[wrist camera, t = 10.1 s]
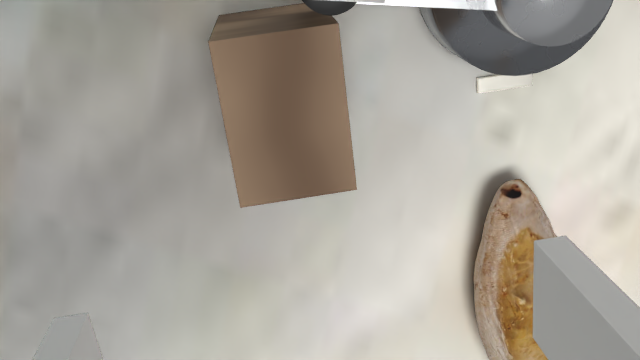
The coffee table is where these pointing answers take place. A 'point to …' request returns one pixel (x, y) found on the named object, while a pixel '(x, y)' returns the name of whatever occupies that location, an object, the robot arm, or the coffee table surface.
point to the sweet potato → (509, 273)
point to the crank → (507, 15)
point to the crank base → (495, 47)
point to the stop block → (283, 103)
